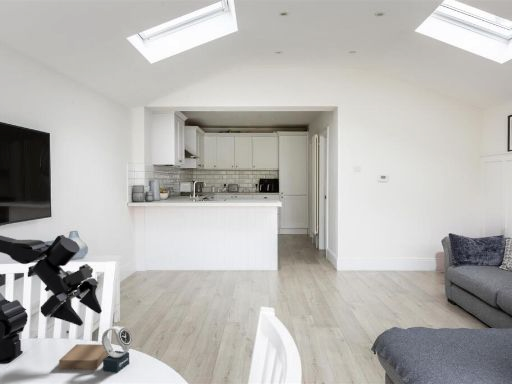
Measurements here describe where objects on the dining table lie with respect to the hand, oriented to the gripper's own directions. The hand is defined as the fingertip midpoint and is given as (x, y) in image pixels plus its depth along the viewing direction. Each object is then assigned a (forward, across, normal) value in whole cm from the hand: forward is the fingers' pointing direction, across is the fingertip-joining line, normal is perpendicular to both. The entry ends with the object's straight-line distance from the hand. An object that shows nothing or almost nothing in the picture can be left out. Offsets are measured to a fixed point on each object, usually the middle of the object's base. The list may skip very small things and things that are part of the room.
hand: (91, 318), depth 108 cm
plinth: (+7, +2, +12) cm, 14 cm away
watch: (+14, 0, +4) cm, 15 cm away
